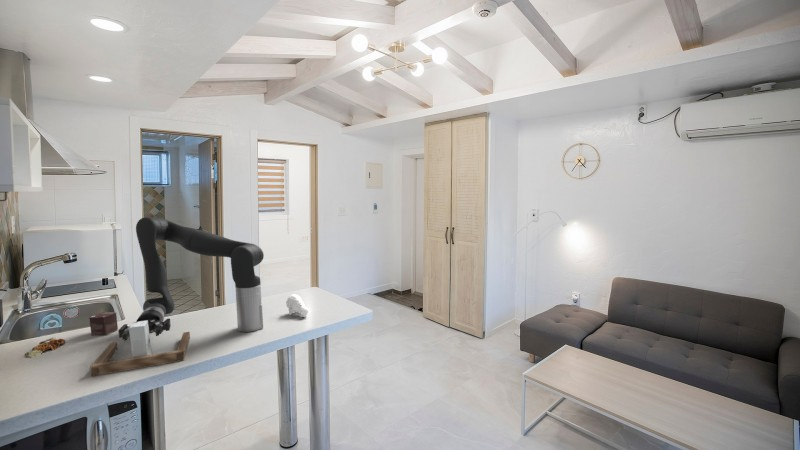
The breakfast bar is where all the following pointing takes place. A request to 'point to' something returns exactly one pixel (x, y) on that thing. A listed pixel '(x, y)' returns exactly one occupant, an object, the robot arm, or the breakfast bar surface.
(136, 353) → the skincare box
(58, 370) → the breakfast bar surface
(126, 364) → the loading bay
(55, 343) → the pastry
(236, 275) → the robot arm
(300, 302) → the white lumpy piece
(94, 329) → the box
